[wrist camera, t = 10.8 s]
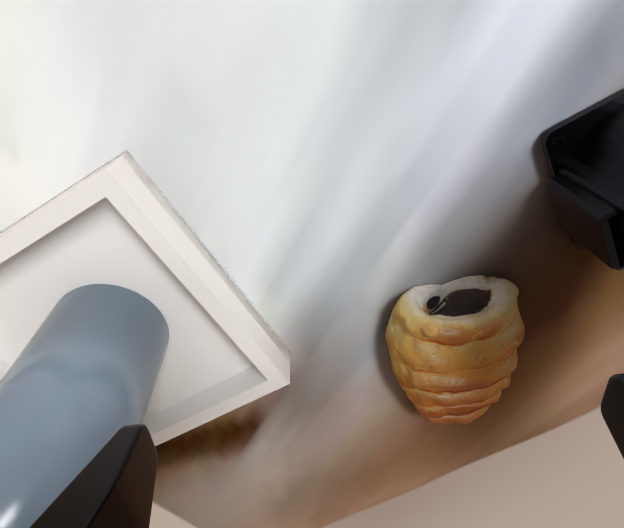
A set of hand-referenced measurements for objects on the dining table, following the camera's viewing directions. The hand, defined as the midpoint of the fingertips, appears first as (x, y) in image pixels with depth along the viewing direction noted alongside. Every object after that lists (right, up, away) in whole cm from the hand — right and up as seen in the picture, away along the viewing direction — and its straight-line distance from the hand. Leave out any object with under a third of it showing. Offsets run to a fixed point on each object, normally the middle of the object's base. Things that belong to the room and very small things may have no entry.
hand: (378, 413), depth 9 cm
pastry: (+6, -1, +16) cm, 18 cm away
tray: (-11, 0, +14) cm, 18 cm away
